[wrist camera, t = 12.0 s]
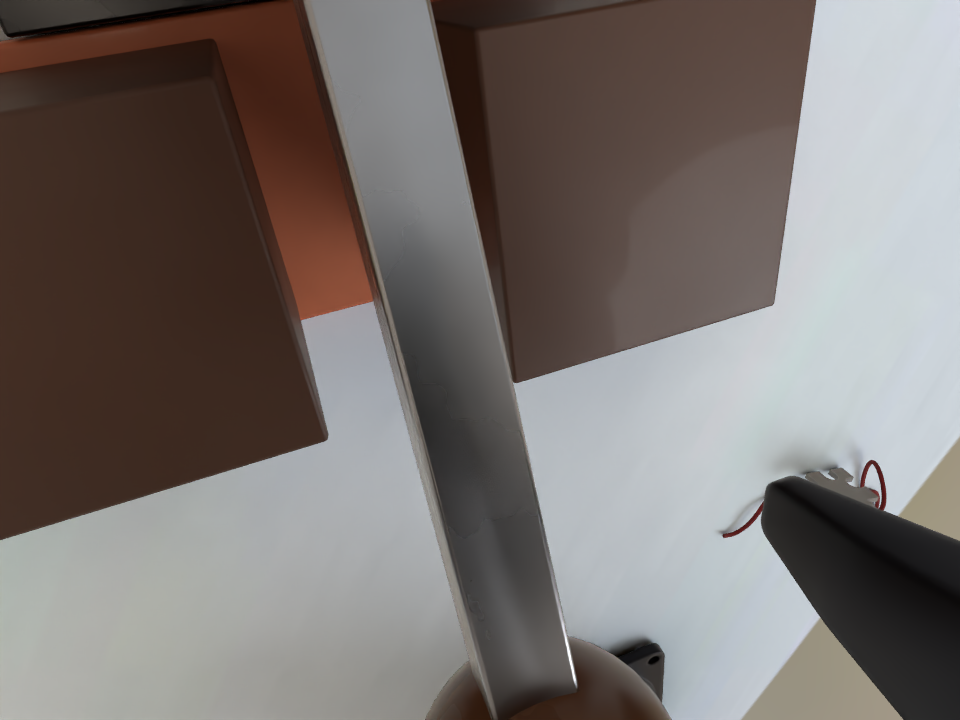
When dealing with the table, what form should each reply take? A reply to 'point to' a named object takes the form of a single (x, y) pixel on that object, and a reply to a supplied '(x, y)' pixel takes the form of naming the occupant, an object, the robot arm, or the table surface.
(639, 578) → the table surface
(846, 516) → the robot arm
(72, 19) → the bracket
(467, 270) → the lever
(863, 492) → the pendant
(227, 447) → the brown block
